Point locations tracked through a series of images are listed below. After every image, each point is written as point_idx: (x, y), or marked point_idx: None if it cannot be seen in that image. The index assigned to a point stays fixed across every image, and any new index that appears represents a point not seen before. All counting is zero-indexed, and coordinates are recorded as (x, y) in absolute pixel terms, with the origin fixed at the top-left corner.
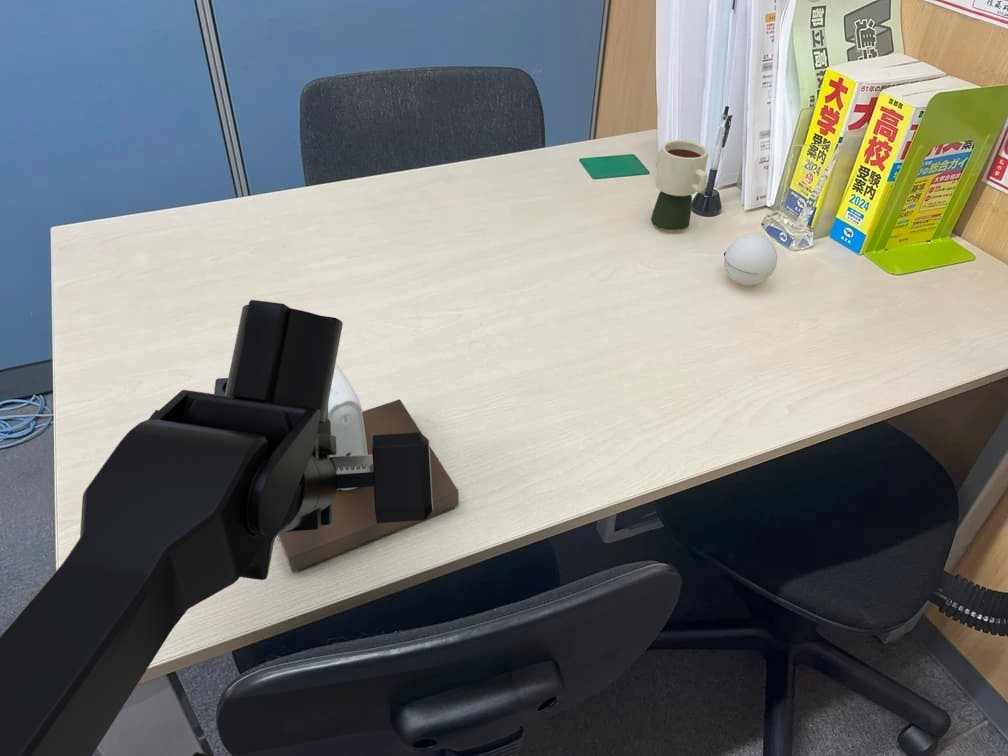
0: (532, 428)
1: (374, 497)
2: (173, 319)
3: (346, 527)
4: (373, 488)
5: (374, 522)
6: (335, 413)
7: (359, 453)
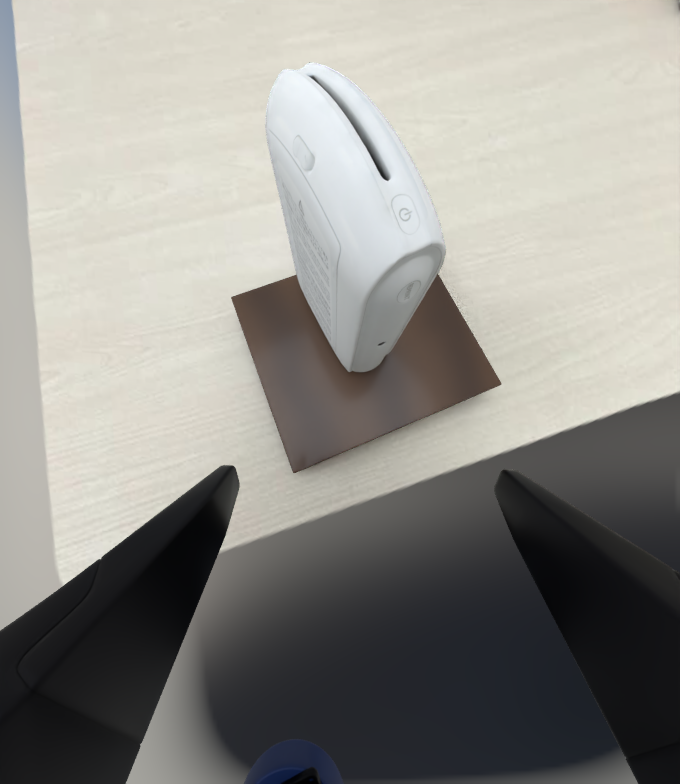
0: (560, 286)
1: (665, 766)
2: (142, 104)
3: (363, 430)
4: (582, 620)
5: (398, 425)
6: (393, 277)
7: (394, 338)
